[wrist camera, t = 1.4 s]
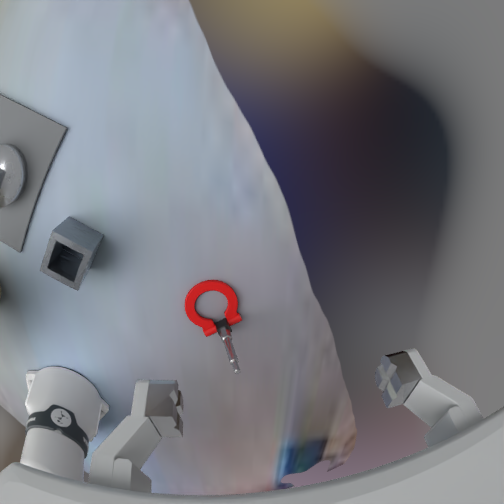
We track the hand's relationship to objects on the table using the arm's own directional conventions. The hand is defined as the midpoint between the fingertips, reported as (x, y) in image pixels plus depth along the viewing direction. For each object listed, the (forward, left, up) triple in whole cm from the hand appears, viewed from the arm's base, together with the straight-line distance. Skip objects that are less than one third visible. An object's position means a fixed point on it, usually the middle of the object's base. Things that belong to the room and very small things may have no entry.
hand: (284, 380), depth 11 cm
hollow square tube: (-14, +13, -34) cm, 38 cm away
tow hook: (-14, -10, -34) cm, 38 cm away
